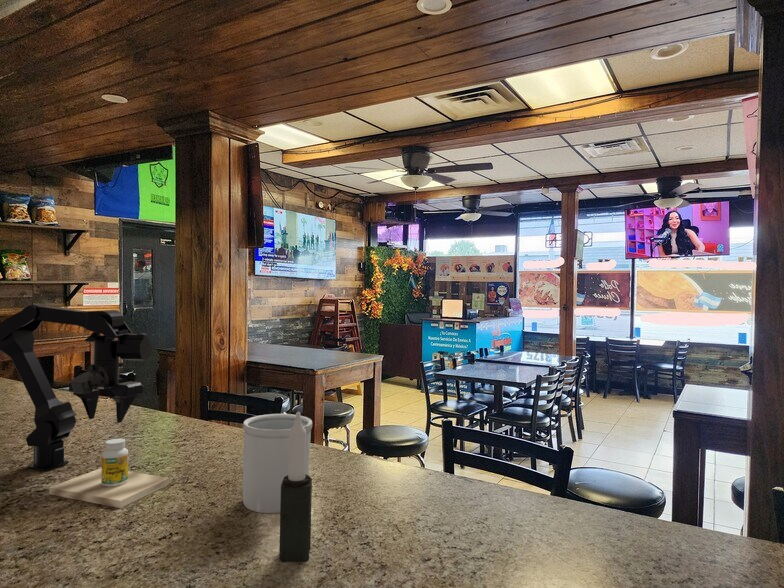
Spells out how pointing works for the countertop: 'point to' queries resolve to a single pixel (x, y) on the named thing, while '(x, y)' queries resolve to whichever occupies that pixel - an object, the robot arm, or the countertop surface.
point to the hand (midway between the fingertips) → (105, 420)
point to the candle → (296, 500)
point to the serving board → (109, 488)
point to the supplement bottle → (114, 463)
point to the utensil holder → (268, 459)
